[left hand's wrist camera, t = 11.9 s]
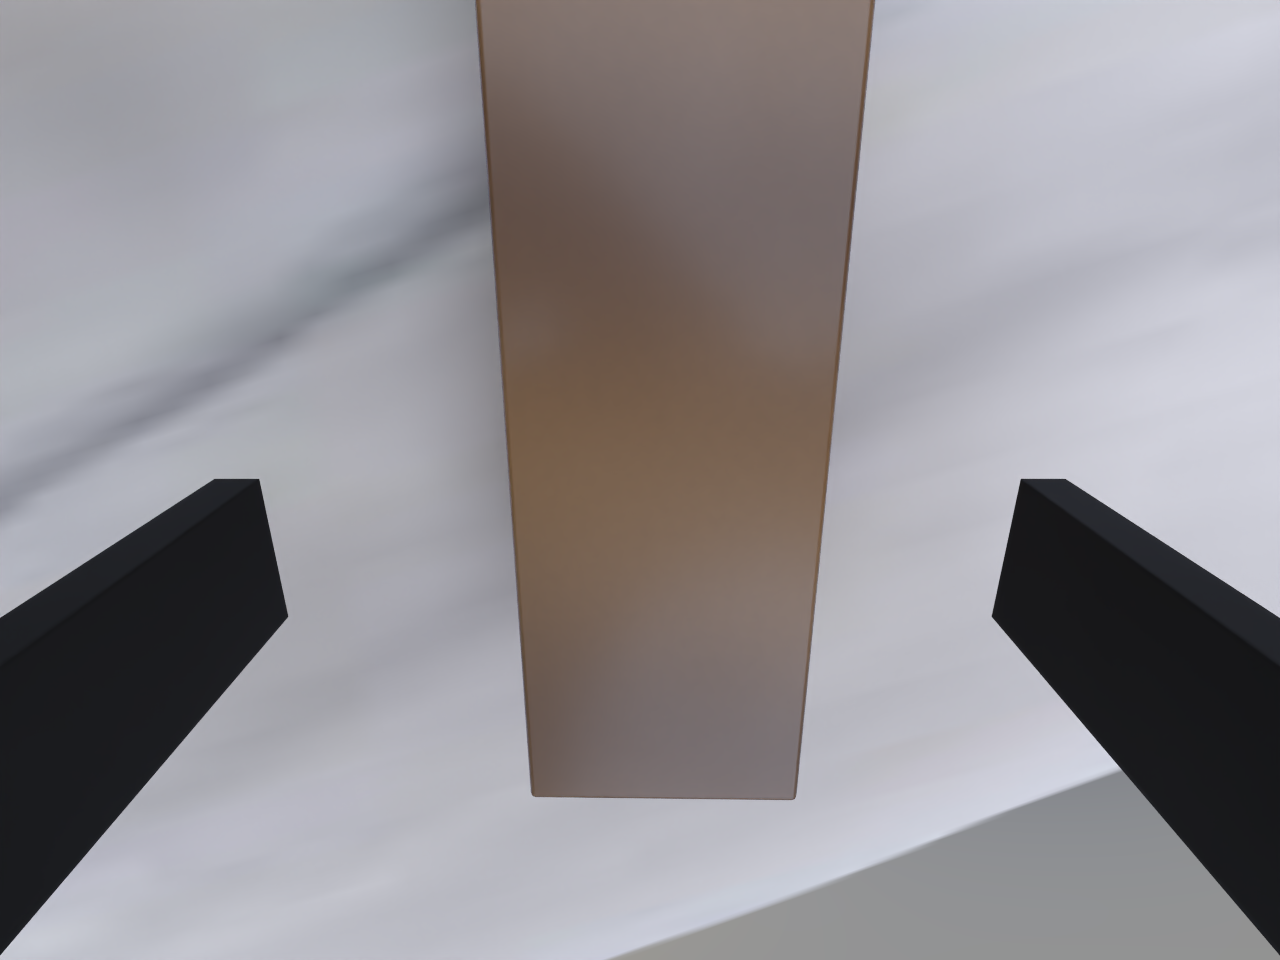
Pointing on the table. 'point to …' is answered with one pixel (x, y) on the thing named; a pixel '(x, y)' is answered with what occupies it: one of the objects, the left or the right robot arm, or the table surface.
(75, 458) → the table surface
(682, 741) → the post
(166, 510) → the left robot arm
